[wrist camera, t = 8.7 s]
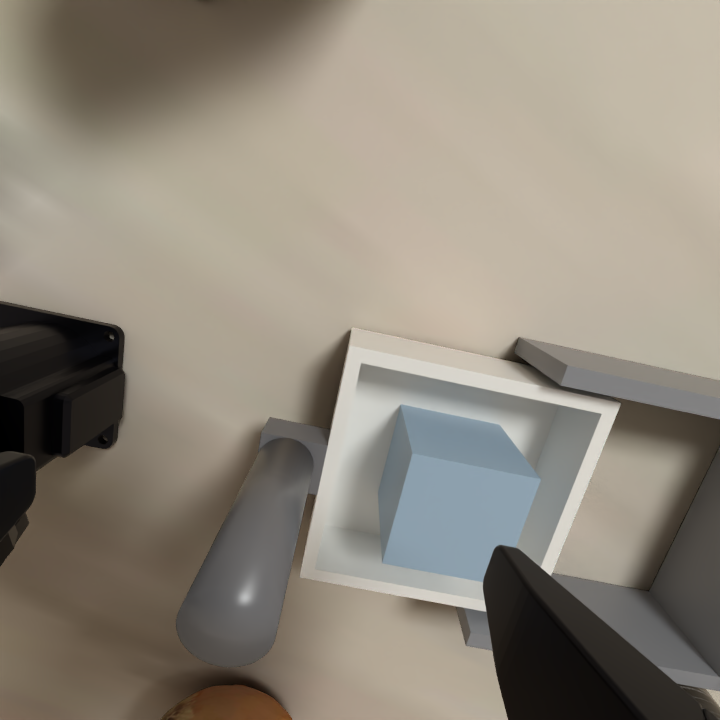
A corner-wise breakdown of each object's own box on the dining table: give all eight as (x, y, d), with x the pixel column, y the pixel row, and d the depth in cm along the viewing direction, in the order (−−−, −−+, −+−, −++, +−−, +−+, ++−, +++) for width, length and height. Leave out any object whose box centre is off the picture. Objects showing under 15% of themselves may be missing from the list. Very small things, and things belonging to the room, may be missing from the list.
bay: (445, 565, 24) (466, 645, 19) (519, 337, 20) (567, 365, 16) (656, 604, 24) (728, 692, 20) (763, 390, 21) (883, 433, 16)
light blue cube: (377, 492, 22) (382, 563, 17) (400, 404, 20) (412, 453, 16) (470, 510, 22) (501, 585, 17) (499, 424, 21) (541, 479, 16)
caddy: (259, 514, 23) (156, 779, 11) (294, 314, 20) (203, 405, 9) (506, 561, 23) (639, 855, 12) (575, 375, 21) (834, 533, 9)
